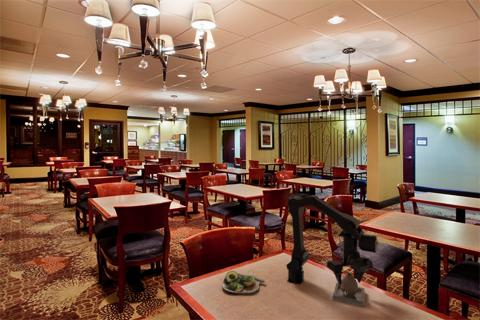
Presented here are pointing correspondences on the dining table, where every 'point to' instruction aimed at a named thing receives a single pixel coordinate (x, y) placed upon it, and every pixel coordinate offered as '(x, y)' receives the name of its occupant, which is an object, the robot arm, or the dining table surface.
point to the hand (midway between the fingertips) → (349, 283)
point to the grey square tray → (355, 300)
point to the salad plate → (240, 283)
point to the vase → (349, 285)
